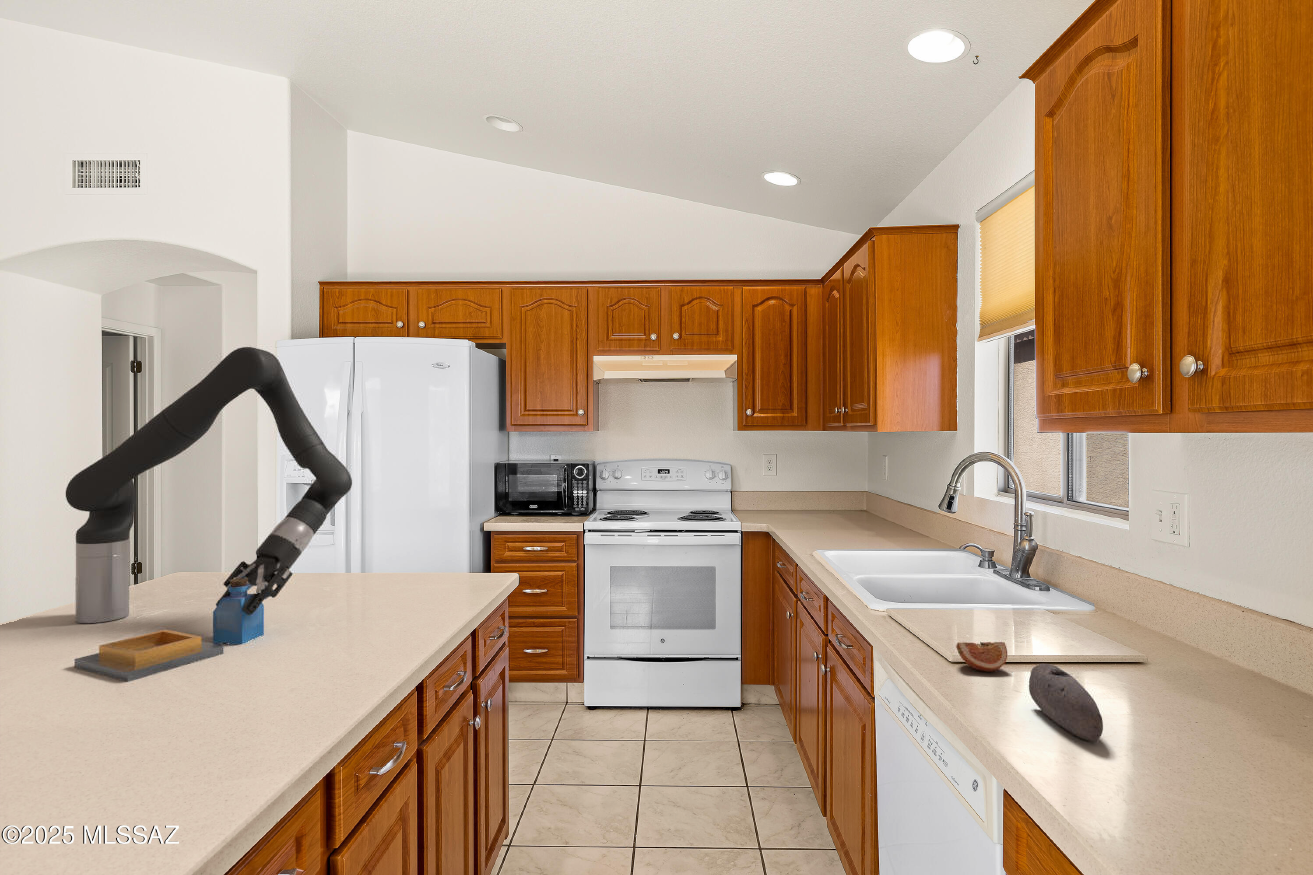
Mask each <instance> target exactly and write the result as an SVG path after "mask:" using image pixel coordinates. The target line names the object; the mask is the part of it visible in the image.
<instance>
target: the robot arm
mask: <svg viewBox="0 0 1313 875" xmlns="http://www.w3.org/2000/svg"><path fill="white" fill-rule="evenodd" d="M292 389H293V388H292V387H291V385H290V383H289V381H288V378H287V375H286V372H285V371H284V368H283V366H282V364H281V362H280V361H279V359H278V357H277V356H275V355H274V353H271V352H269V351H267V350H264V349H260V348H256V347H252V346H243V347H238V348H236V349H234V350H232V351H231V352H230V353H228V354H227V355H226V356H225V357H224V358H223V359H222V360H221V361H219V363H218V364H217V365H216V366H215V367H214V368H213V369H212V370H211V371H210V372H209V373H208V374H207V375H206V376H205V377H204V378H203V379H201V380H200V381H199V382H198V383H197V384H196V385H194V386H193V387H191V388H190V389H189V390H187V391H186V392H185V393H184V394H182V395H181V396H179V397H178V398H177V399H176V400H175V401H173V402H172V403H171V404H169V405H168V406H166V407H165V408H164V409H163V410H161V411H160V412H159V413H157V414H156V415H154V416H153V417H152V418H151V419H150V420H149V421H147V422H146V423H145V424H143V426H142V427H140V428H139V429H138V430H136V432H134V433H133V434H132V435H130V436H129V437H128V438H127V439H125V440H124V441H123V442H122V443H121V444H120V445H118V446H117V447H116V448H115V449H113V450H112V451H111V452H109V453H108V454H106V455H105V456H102V458H100V459H98V460H97V461H95V462H94V463H92V464H90V465H89V466H87V467H85V468H84V469H82V470H80V471H79V472H78V473H76V474H75V475H74V476H73V477H72V478H71V479H70V481H68V484H67V486H66V489H65V500H66V501H67V503H68V505H69V506H70V507H71V508H74V509H76V510H78V511H81V512H89V513H88V514H89V515H88V518H87V520H86V522H85V523H84V524H83V525H81V527H79V528H78V529H77V530H76V533H75V622H77V623H79V624H95V623H105V622H111V621H115V620H120V619H124V618H126V617H128V616H129V615H130V532H131V530H132V527H133V526H134V521H135V520H134V518H135V507H136V506H135V504H136V489H135V488H136V487H135V483H134V479H136V478H137V477H138V476H140V475H141V474H142V473H144V472H148V470H150V469H153V468H154V467H157V466H159V465H161V464H163V463H165V462H167V461H169V460H171V459H173V458H174V457H176V456H179V455H180V454H181V453H183V452H184V451H186V450H187V449H189V448H190V447H191V446H193V445H194V444H195V443H196V442H198V441H199V440H200V439H201V438H202V437H203V436H205V434H206V433H207V432H208V431H209V430H210V429H211V427H212V426H213V424H214V423H215V422H216V419H217V417H218V416H219V415H220V413H221V411H222V410H224V408H225V407H226V406H227V405H228V404H230V403H231V402H233V400H235V399H237V398H238V397H239V396H241V395H242V394H244V393H246V392H247V391H248V390H254V391H255V392H256V393H257V394H258V395H259V396H260V397H261V398H262V399H263V401H264V402H265V403H266V405H267V406H268V408H269V410H270V412H271V413H272V416H273V418H274V422H275V425H276V428H277V431H278V433H279V436H280V438H281V440H282V443H283V444H284V446H285V447H286V449H287V450H288V452H289V453H290V455H291V456H292V458H293V459H294V461H295V462H296V464H297V465H298V466H299V467H300V468H302V469H307V470H309V471H310V473H311V474H312V475H313V476H314V477H315V480H314V481H313V482H312V484H311V485H310V486H309V487H308V489H307V490H306V492H304V495H303V496H302V497H301V499H300V500H299V501H298V502H297V503H295V505H294V506H293V507H292V508H291V510H290V511H289V512H288V513H287V514H286V516H285V517H284V518H283V519H282V520H281V521H280V522H279V523H278V524H277V525H276V526H274V528H273V530H271V532H270V533H269V535H268V536H267V537H266V538H265V539H264V540H263V542H262V543H261V544H260V545H259V546H258V547H257V549H256V551H255V555H256V558H255V559H254V560H253V561H252V563H250V564H249V563H247V562H245V560H243V561H241V562H240V563H239V564H238V565H237V566H236V567H235V568H234V570H233V572H231V573H230V575H229V576H228V577H227V578H226V579H225V581H223V584H222V585H223V586H224V587H225V588H226V590H225V591H224V593H223V594H222V596H220V598H219V599H218V600H217V602H216V603H215V606H216V607H217V605H218V604H219V603H220V601H221V600H222V598H225V597H228V596H231V592H229V586H231V584H230V580H231V579H236V578H248V582H247V584H249V590H251V588H252V587H256V589H255V592H254V593H252V594H253V595H252V596H251V598H250V599H249V600H248V601H247V603H246V604H245V605H244V606H243V608H242V611H244V612H245V613H246V614H248V615H252V614H253V613H254V611H256V609H257V608H258V607H259V605H260V604H261V603H263V602H264V600H268V598H270V597H271V599H273V598H276V597H277V596H278V595H279V593H280V591H282V589H283V587H285V586H286V584H287V583H288V581H289V580H290V579H291V577H292V576H293V572H291V570H290V569H291V568H292V567H293V565H294V564H295V562H296V561H297V560H298V558H299V557H300V556H301V555H302V553H303V552H304V551H305V550H306V549H307V547H308V545H309V544H310V542H311V541H312V539H313V538H314V536H315V534H316V533H317V532H318V531H319V529H320V528H321V526H322V525H323V524H324V523H325V521H326V519H327V517H328V514H330V512H331V511H332V509H333V508H334V507H335V506H336V505H337V503H339V502H340V501H341V499H342V498H343V497H345V496H346V495H347V494H348V493H349V492H350V491H351V488H352V487H353V486H352V485H353V479H352V477H351V474H350V472H349V470H348V469H347V467H346V466H345V465H344V463H342V462H341V461H340V459H338V458H337V456H335V455H334V454H333V453H332V452H331V451H330V450H329V449H328V448H327V446H326V444H325V443H324V441H323V440H322V438H321V436H320V435H319V434H318V432H317V430H316V429H315V427H314V426H313V425H312V423H311V422H310V420H309V419H308V417H307V416H306V414H305V412H304V410H303V408H302V407H301V404H300V403H299V401H298V399H297V397H296V396H295V394H294V391H293V390H292ZM275 585H276V587H275V588H274V586H275Z"/></svg>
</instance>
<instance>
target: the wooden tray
mask: <svg viewBox="0 0 1313 875" xmlns="http://www.w3.org/2000/svg"><path fill="white" fill-rule="evenodd" d="M219 654H220V655H223V654H224V644H214V643H213V642H207V641H203V640H202V636H200V635H195V634H189V633H186V632H185V633H184V632H179V631H175V630H172V629H171V630H169V629H161V630H158V631H153V632H150V633H145V634H141V635H137V636H132V637H129V638H124V639H120V640H116V641H113V642H109V643H104V644H100V645H98V652H97V653H93V654H88V655H84V656H81V657H77V658H74V668H75V669H79V670H82V671H85V672H89V673H94V674H97V675H101V676H105V677H108V678H113V679H116V680H120V681H123V682H128V683H129V682H131V681H135V680H138V679H141V678H144V677H148V675H149V676H152V675H154V674H158V672H159V673H162V672H165V670H166V671H168V669H169V670H172V669H175V667H176V668H179V667H181V666H180V665H183V664H186V665H189V664H191V663H190V662H193V663H195V662H194V661H196V662H199V661H198V660H200V661H202V659H203V660H206V659H205V658H207V659H209V658H208V657H210V658H212V657H216V656H220V655H219ZM188 663H189V664H188ZM178 666H179V667H178ZM183 666H184V665H183ZM171 668H172V669H171ZM161 671H162V672H161Z"/></svg>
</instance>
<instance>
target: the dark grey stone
mask: <svg viewBox="0 0 1313 875" xmlns="http://www.w3.org/2000/svg"><path fill="white" fill-rule="evenodd" d="M1028 683H1029V684H1028V691H1029V695H1030V696H1031V697H1030V698H1031V699H1032V700H1033V702H1034V703H1035V705H1036V706H1037V707H1038V708H1039V709H1040V711H1041V712H1042V713H1043V715H1045V716H1046V717H1047V718H1049V719H1050V720H1051V721H1053V722H1055V723H1056V724H1057V725H1059V727H1061V728H1063V729H1065V730H1066V731H1068V732H1070V734H1072V735H1074V736H1075V737H1078V738H1080V739H1082V740H1086V741H1089V742H1096V741H1098V740H1099V739H1100V738H1101V737H1102V734H1103V730H1104V721H1103V717H1102V714H1101V713H1100V709H1099V707H1098V705H1097V703H1096V700H1094V697H1093V696H1092V695H1091V694H1090V693H1089V692H1088V690H1086V688H1085V687H1084V686H1083V685H1082V684H1081V683H1080V682H1079V681H1078V680H1077V679H1076V678H1075V677H1074V676H1072V675H1071V674H1069V673H1068V672H1066V671H1064V670H1063V669H1061V668H1060V667H1058V666H1056V665H1054V664H1049V663H1038V664H1037V665H1035V666H1033V667H1032V668H1031V671H1030V676H1029V681H1028Z"/></svg>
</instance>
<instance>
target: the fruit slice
mask: <svg viewBox="0 0 1313 875" xmlns="http://www.w3.org/2000/svg"><path fill="white" fill-rule="evenodd" d="M955 648H956V649H957V653H958V655H959V656H960V658H961V659H962V661H964V663H966V664H967V665H968V666H969V667H971V668H973V669H975V670H977V671H981V672H984V673H985V672H986V673H988V672H989V673H990V672H994V671H998V670H999V669H1000V668H1002V667H1003V666H1004V665H1005V664H1006V661H1007V660H1008V649H1007V644H1006V643H1005V642H1004V641H994V642H991V641H987V642H982V641H980V642H979V643H975V642H966V641H963V642H957V643H956V646H955Z"/></svg>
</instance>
